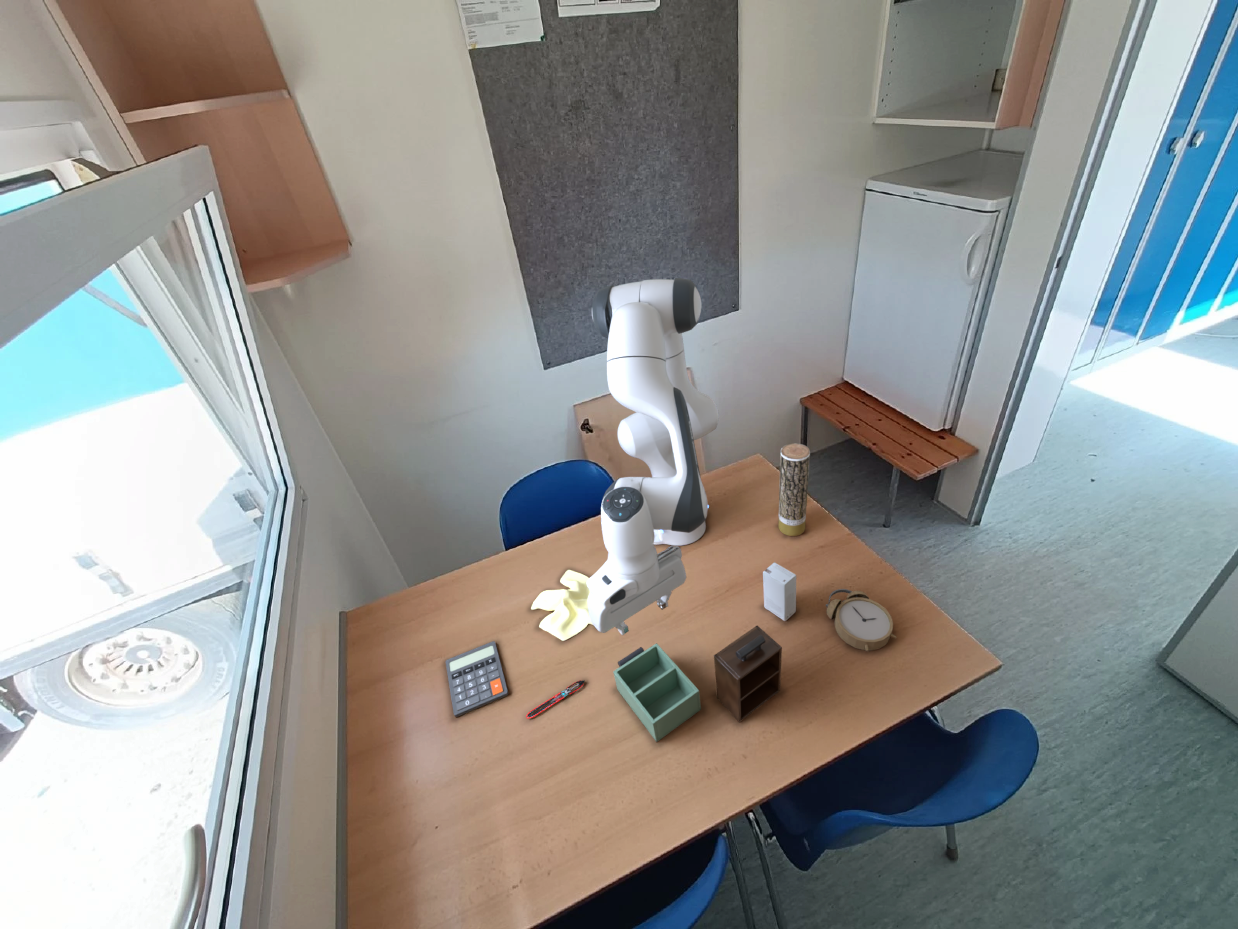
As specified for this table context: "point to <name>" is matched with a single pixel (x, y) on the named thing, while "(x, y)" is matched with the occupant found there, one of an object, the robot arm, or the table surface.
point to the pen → (555, 699)
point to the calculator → (475, 678)
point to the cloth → (565, 606)
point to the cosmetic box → (779, 591)
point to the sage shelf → (656, 690)
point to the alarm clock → (860, 620)
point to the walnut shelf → (748, 672)
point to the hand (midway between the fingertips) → (643, 618)
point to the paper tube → (793, 488)
